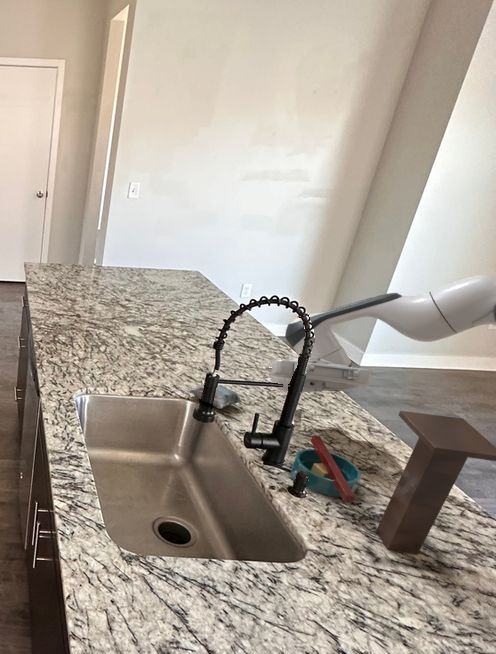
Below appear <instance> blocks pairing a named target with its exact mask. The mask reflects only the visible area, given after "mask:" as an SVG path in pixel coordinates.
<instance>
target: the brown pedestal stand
mask: <svg viewBox="0 0 496 654" xmlns="http://www.w3.org/2000/svg"><path fill="white" fill-rule="evenodd" d="M398 417H400V419H401V420H402V421H403V422H404V423H405V424H406V425H407V426H408V427H409V429H410V430H411V431H412V432H414V434H415V435H416V436H417V437H418V439H417V441H416V443H415V446H414V448H413V450H412V452H411V454H410V456H409V458H408V460H407V462H406V465H405V466H404V469H403V471H402V474H401V476H400V478H399V480H398V482H397V484H396V486H395V488H394V490H393V493H392V495H391V498H390V500H389V502H388V504H387V506H386V508H385V510H384V513H383V515H382V517H381V519H380V521H379V523H378V526H377V528H376V530H375V532H376V534H377V536H378V537H379V539H380V540H381V542H382V544H383V545H384V547H385V549H386V550H387V551H391V552H397V553H405V554H410V555H416V556H418V554H419V552H420V551H421V549H422V547H423V544H424V543H425V541H426V539H427V537H428V535H429V534H430V531H431V529H432V528H433V525H434V523H435V522H436V519H437V518H438V516H439V514H440V512H441V510H442V508H443V507H444V504H445V503H446V500H447V498H448V497H449V495H450V493H451V491H452V489H453V487H454V485H455V483H456V481H457V479H458V478H459V476H460V474H461V471H462V470H463V468H464V466H465V464H466V462H467V461H468V458H470V459H478V460H485V461H492V462H496V446H495V445H494V444H493V443H492V442H491V441H489V440H488V439H487V438H486V437H485V436H483V435H482V434H481V432H479V431H478V430H476V428H475V427H473V426H472V425H471V424H470V423H469V422H468V421H466V419H464V418H461V417H455V416H446V415H438V414H429V413H422V412H414V411H406V410H400V411H399V413H398Z"/></svg>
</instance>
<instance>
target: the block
mask: <svg viewBox="0 0 496 654" xmlns="http://www.w3.org/2000/svg"><path fill="white" fill-rule="evenodd" d="M311 472H313V473H315V474H317V475H319V476H322V477H325V478H328V479H331V477H330V475H329V474H328V472H327V470H326V468H325V466H324V465H323V463H316V464H313V467H312V469H311ZM331 480H332V479H331Z"/></svg>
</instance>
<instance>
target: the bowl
mask: <svg viewBox="0 0 496 654" xmlns="http://www.w3.org/2000/svg"><path fill="white" fill-rule="evenodd" d="M329 453H330V454H331V456H332V458H333V459H334V461H335V463H336V465H337V466H338V468H339V470H340V471H341V473H342V475H343V476H344V478H345V480H346V482H347V483H348V485H349V487H350V488H351V490H352V492H353V494H355V492H356V490H357V488H358V486H359V483H360V480H361V477H362V472H361V471H360V470H359V468H358V467H357V465H355V464H354V463H352V461H350V460H349V459H347V458H346V457H343V456H341V455H339V454H337V453H334V452H331V451H329ZM316 463H322V461H321V459H320V457H319V455H318V454H317V452H316V450H315V448H305V449H304V448H303V449H301V450H298V451H297V453H296V455H295V458H294V460H293V463H292V466H291V470H290V476H291V478H292V480H293V481H294V482H295V483H296V481H295V479H296V475H297V473H298V472H300V471H304V472H306V473H307V474H308V475H309V481H308V482H307V483H306V485H303V486H304V487H306V488H308V489H310V490H311V491H312V492H313V491H314V492H316V493H318V494H321V495H325V496H330V497H336V498H342V497H341V495H340V494H339V492H338V490H337V488H336V486H335V485H334V483H333V481H332V480H331V479H328V478H325V477H322V476H319V475H317V474H315V473H313V472H311V469H312V467H313V464H316Z"/></svg>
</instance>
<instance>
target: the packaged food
mask: <svg viewBox="0 0 496 654" xmlns="http://www.w3.org/2000/svg"><path fill="white" fill-rule="evenodd" d="M203 388H204V383H201V384H200V385H197V386H195V388H189V389H186V392H189V393H190V394H192V395H193V397H195V398H197V399H199V400H201V396H202V392H203ZM241 402H243V401H242V399H241V397H240V396H239V395H238V394H237V392H235V391H234V390H232V389H230V388H228V387H226V386H223V385H221V384H220V385H219V386H218V387H217V390H216V394H215V399H214V403H213V405H212V407H215V408H217V409H221V410H222V409H223V408H225V407H227V406H230V405H234V404H235V405H237V404H239V403H241Z"/></svg>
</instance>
